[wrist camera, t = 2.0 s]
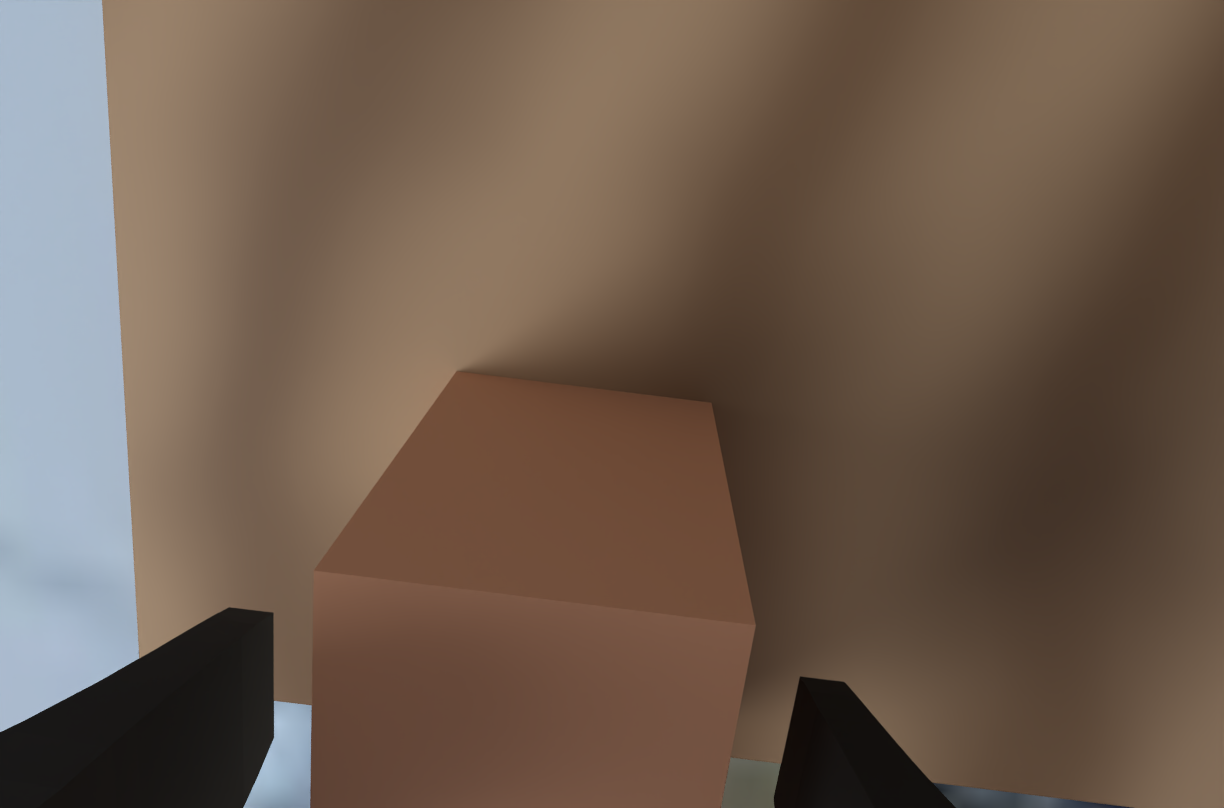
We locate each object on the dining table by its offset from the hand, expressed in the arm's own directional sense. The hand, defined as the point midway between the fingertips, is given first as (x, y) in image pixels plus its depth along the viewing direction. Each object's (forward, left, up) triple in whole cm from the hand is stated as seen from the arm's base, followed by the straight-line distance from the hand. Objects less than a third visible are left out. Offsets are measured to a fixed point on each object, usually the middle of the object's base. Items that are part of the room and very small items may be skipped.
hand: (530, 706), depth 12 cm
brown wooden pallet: (-3, -5, -6) cm, 8 cm away
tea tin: (0, 0, -5) cm, 5 cm away
